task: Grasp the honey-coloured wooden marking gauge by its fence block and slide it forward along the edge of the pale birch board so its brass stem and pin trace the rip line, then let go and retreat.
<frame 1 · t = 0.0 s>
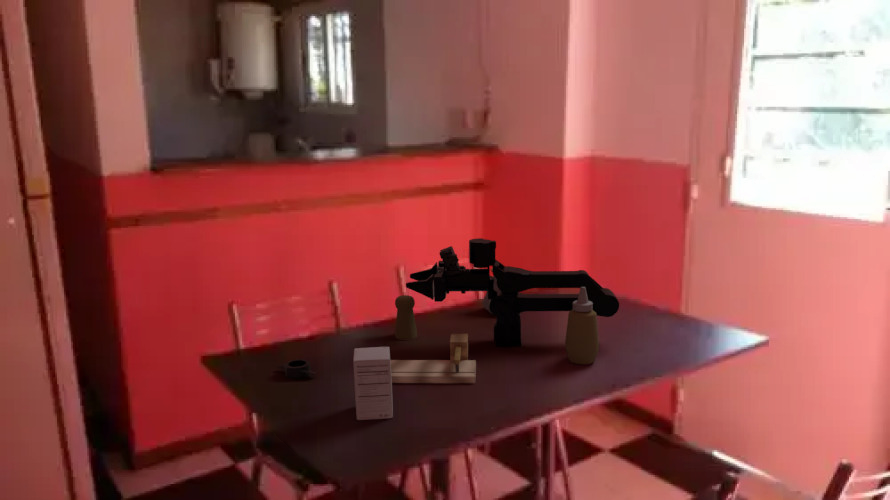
hand: (408, 280, 184), 17 cm above the table, tool horizontal, fingers open, 9 cm apart
supplement box: (374, 412, 146), on the table
cork: (406, 336, 192), on the table
gauge: (459, 361, 173), on the table
dark ring with tabs: (298, 376, 167), on the table
squeeze bottle: (581, 361, 172), on the table
board: (427, 374, 165), on the table
coffee pot: (513, 316, 208), on the table
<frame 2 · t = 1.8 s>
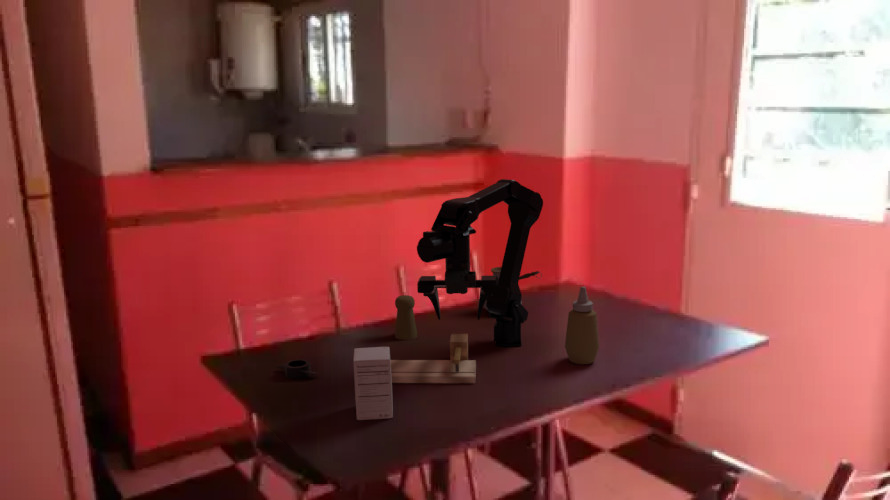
hand: (458, 319, 171), 10 cm above the table, tool pointing down, fingers open, 9 cm apart
nothing on the table moved.
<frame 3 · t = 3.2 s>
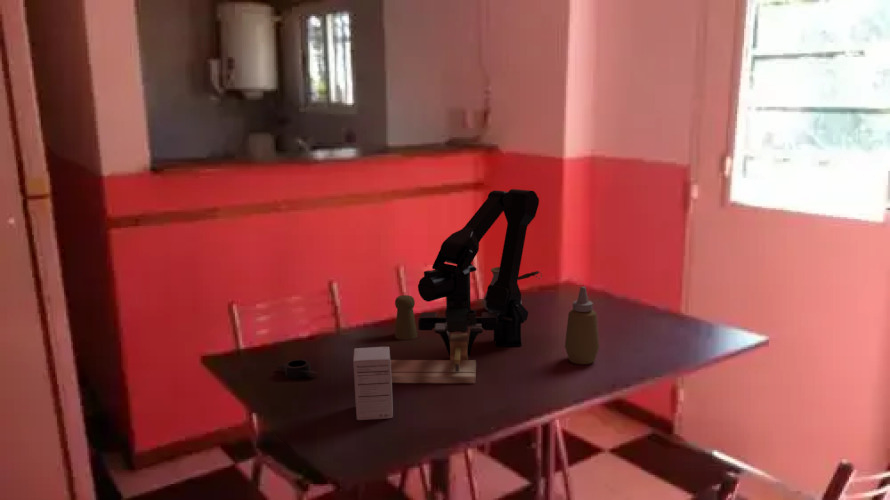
hand: (459, 355, 172), 2 cm above the table, tool pointing down, fingers closed on gauge, 4 cm apart
gauge: (459, 361, 173), on the table, touching gripper
everything else where it was.
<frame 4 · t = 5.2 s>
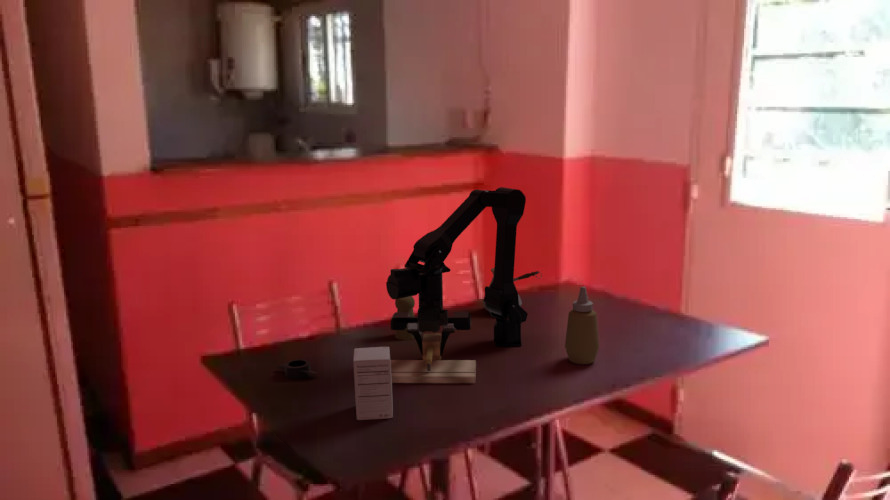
hand: (432, 355, 173), 2 cm above the table, tool pointing down, fingers closed on gauge, 4 cm apart
gauge: (432, 361, 173), on the table, touching gripper
everything else where it was.
when the fingers open (1 cm above the table, at t = 7.5 s): gauge stays where it is, on the table.
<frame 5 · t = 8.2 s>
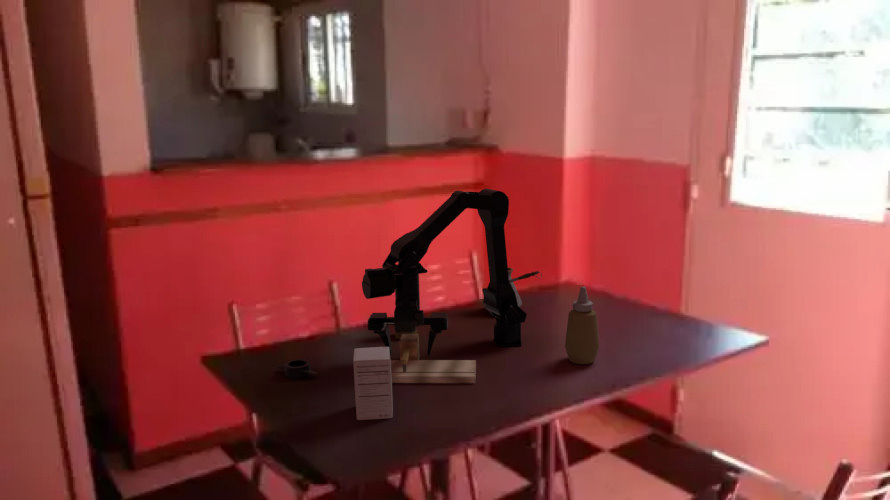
hand: (409, 355, 173), 2 cm above the table, tool pointing down, fingers open, 9 cm apart
gauge: (410, 361, 174), on the table
everything else where it was.
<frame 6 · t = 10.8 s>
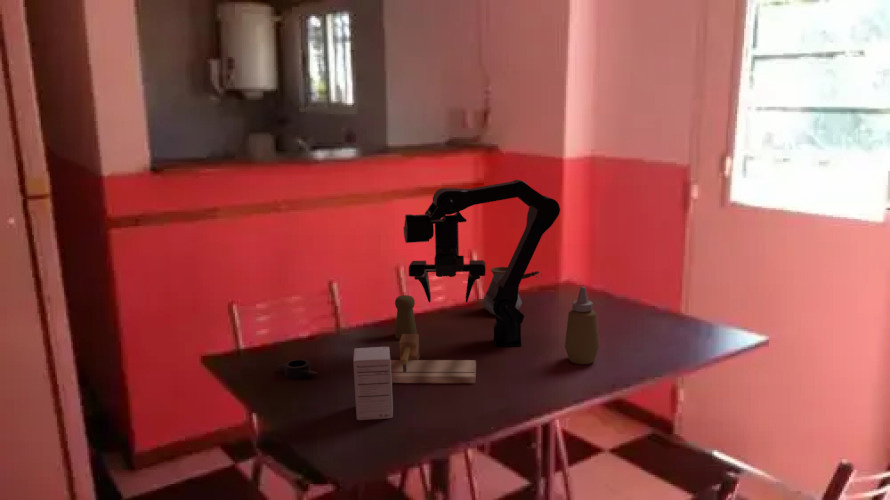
hand: (448, 301, 180), 12 cm above the table, tool pointing down, fingers open, 9 cm apart
nothing on the table moved.
at the end: gauge moved 11.9 cm from its start; gauge inside the target area (0.2 cm from its centre), on the table; gauge tilted 0° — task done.
